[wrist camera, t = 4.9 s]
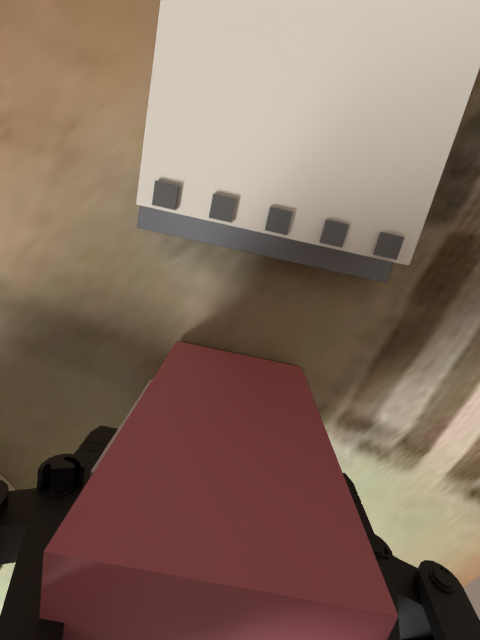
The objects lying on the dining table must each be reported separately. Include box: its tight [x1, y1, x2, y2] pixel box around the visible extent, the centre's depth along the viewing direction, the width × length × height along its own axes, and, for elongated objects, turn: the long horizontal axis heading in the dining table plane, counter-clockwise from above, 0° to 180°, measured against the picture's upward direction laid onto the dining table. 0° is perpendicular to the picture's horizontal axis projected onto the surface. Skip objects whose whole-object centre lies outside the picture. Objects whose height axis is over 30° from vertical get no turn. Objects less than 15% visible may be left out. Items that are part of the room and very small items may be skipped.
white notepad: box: [136, 0, 480, 283], centre depth 12 cm, size 17×12×5 cm
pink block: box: [39, 341, 398, 640], centre depth 13 cm, size 6×7×12 cm
